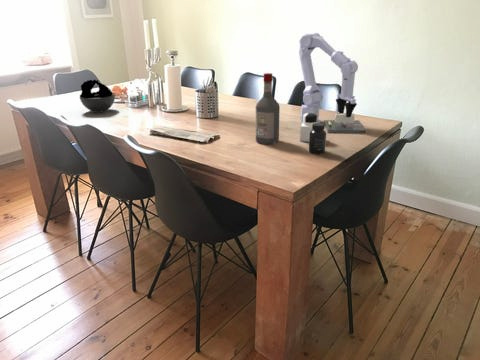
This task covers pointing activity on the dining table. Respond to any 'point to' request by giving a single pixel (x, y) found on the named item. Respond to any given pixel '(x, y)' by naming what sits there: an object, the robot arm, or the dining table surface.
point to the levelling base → (344, 127)
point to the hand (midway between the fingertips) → (344, 115)
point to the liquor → (267, 115)
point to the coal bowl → (96, 96)
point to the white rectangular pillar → (344, 118)
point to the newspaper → (183, 133)
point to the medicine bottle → (307, 126)
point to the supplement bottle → (317, 139)
